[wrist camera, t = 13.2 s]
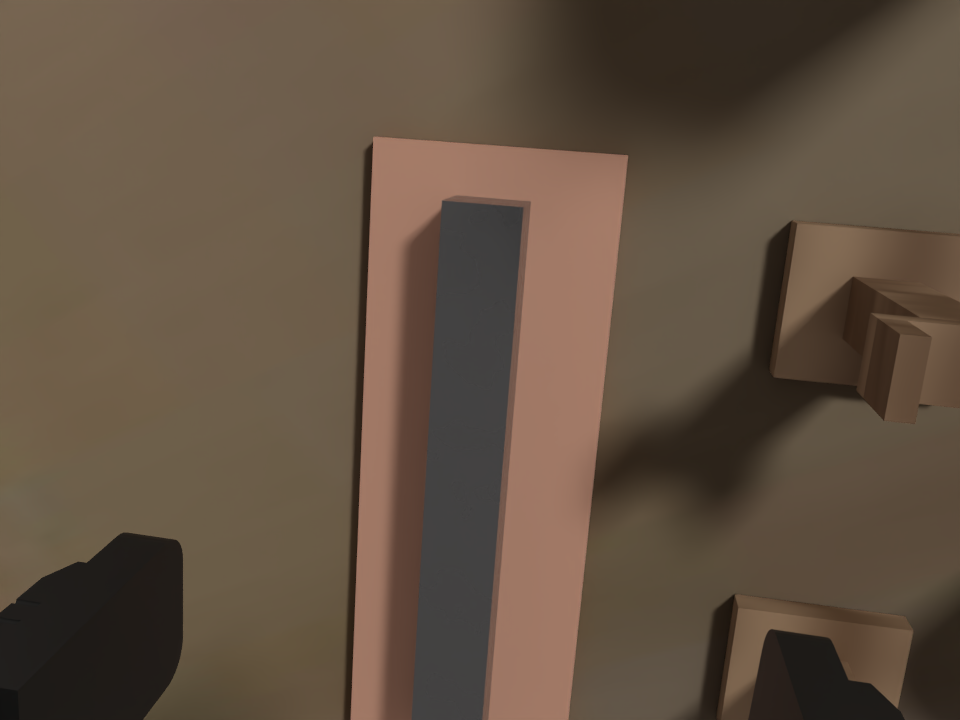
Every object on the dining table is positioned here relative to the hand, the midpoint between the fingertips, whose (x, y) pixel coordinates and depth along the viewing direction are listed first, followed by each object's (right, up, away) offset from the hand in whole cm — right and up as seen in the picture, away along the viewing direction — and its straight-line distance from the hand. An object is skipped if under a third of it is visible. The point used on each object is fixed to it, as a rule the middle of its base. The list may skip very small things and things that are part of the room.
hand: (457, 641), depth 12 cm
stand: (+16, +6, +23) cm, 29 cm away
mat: (0, -1, +28) cm, 28 cm away
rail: (0, -1, +27) cm, 27 cm away
